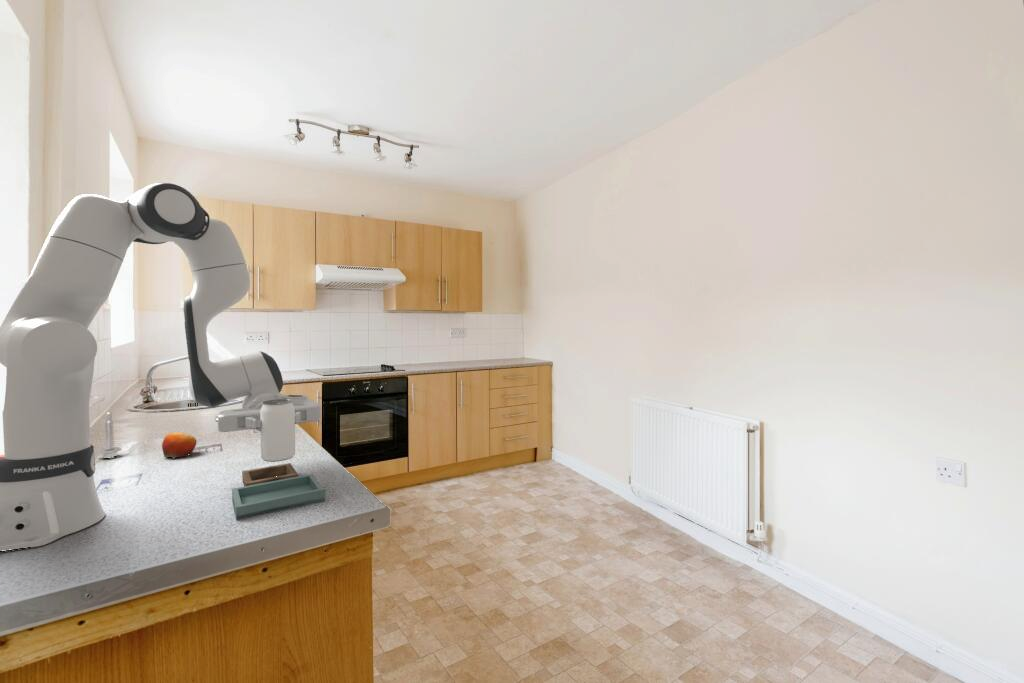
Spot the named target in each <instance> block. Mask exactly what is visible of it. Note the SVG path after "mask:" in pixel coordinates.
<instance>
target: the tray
mask: <svg viewBox="0 0 1024 683" xmlns="http://www.w3.org/2000/svg"><path fill="white" fill-rule="evenodd" d="M325 490H326V489H325V488H324V486H323V485H322V483H320V481H319V480H318V479H317V478H316V476H315V475H314V474H313V473H311V474H306V475H305V474H303V475H298V477H293V478H288V479H282V480H277V481H272V482H266V483H261V484H255V485H250V486H245V487H244V486H240V487H234V488H231V499H232V500H231V502H232V505H233V506H232V507H233V509H234V515H235V519H236V521H241V520H244V519H249V518H254V517H258V516H259V517H260V516H263V515H269V514H271V513H277V512H281V511H286V510H290V509H291V510H292V509H295V508H300V507H303V506H308V505H313V504H317V503H322V502H325V501H326V492H325Z"/></svg>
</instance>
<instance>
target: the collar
mask: <svg viewBox="0 0 1024 683" xmlns="http://www.w3.org/2000/svg"><path fill="white" fill-rule="evenodd" d="M241 472H242V474H241V475H242V477H241V478H242V484H244V485H243V487H245V486H250V485H255V484H261V483H266V482H272V481H277V480H282V479H288V478H293V477H299V473H298V472H297V470H296V469H295V467H294V466H293V465H292V463H291V462H288V463H282V464H277V465H271V466H270V465H269V466H265V467H259V468H252V469H246V470H242V471H241ZM276 476H277V477H276Z"/></svg>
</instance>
